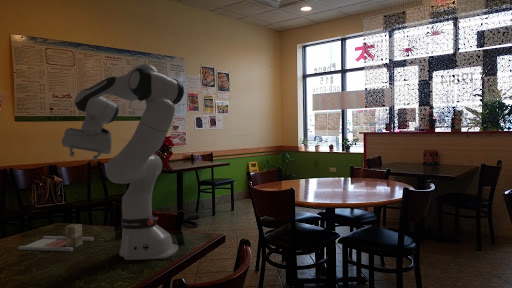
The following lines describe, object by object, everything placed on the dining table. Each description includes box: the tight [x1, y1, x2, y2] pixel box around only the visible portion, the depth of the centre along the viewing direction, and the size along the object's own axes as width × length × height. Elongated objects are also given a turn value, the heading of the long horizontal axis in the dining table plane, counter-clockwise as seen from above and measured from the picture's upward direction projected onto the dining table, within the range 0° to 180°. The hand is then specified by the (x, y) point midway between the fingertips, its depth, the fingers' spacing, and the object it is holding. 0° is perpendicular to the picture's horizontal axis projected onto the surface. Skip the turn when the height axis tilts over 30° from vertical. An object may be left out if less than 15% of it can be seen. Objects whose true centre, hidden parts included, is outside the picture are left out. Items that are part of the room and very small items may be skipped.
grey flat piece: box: [17, 235, 95, 252], centre depth 154 cm, size 24×15×1 cm, turn 82°
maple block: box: [64, 223, 84, 248], centre depth 153 cm, size 4×4×8 cm
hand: (83, 157), depth 157 cm, fingers open, 8 cm apart
